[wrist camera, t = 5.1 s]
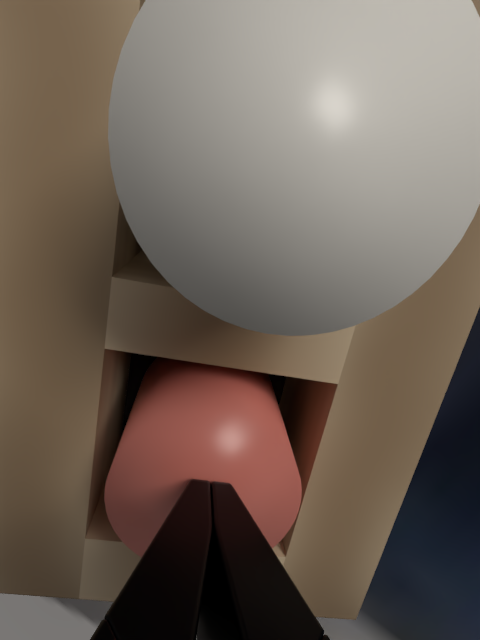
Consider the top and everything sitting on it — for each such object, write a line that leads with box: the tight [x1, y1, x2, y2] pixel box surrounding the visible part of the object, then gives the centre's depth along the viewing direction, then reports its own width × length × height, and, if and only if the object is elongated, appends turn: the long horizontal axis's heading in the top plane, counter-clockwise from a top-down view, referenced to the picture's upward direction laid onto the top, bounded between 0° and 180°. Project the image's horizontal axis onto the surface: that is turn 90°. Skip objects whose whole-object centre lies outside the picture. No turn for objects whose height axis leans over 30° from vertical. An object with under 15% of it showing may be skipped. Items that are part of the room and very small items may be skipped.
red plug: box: [104, 357, 302, 557], centre depth 10 cm, size 4×4×4 cm
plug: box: [108, 0, 480, 336], centre depth 6 cm, size 4×4×4 cm
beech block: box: [0, 0, 480, 620], centre depth 9 cm, size 10×22×4 cm, turn 169°
